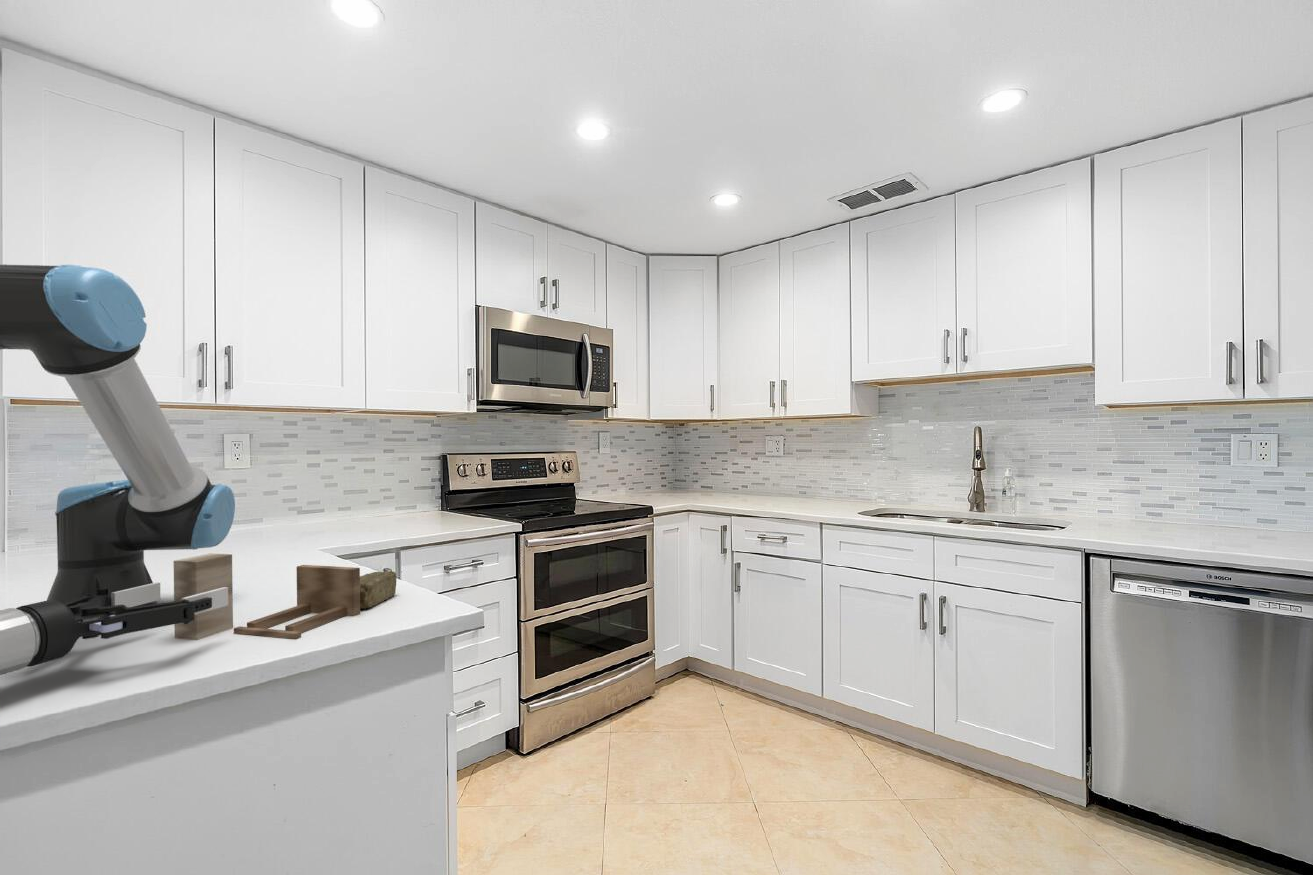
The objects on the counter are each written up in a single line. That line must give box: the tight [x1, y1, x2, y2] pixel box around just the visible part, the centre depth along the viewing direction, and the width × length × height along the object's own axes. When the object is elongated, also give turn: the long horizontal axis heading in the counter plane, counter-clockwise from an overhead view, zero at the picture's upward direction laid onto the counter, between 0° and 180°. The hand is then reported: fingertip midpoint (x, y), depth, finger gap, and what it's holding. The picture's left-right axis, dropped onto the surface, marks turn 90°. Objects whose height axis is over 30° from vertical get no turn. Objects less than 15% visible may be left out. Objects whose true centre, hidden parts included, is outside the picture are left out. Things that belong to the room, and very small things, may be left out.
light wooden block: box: [173, 553, 234, 641], centre depth 98 cm, size 4×6×12 cm
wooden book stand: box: [233, 564, 361, 640], centre depth 103 cm, size 12×14×8 cm
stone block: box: [360, 570, 397, 610], centre depth 115 cm, size 6×12×5 cm, turn 176°
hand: (192, 593), depth 96 cm, fingers open, 13 cm apart
